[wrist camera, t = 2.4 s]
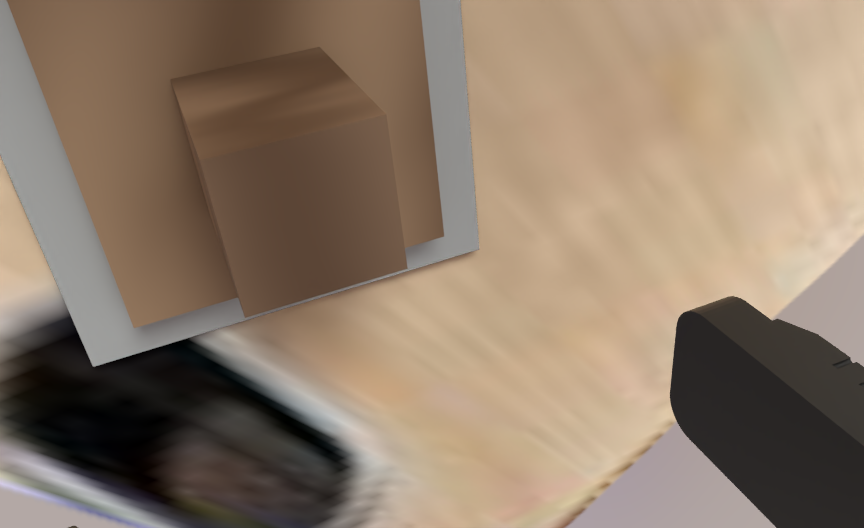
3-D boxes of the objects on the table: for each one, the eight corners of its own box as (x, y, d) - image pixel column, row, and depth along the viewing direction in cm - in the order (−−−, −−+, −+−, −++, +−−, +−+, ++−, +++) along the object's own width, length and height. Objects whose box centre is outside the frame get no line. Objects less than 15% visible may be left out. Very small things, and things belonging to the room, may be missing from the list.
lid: (395, -97, 19) (505, -58, 14) (431, 221, 24) (522, 328, 19) (2, -29, 17) (-23, 44, 12) (131, 308, 22) (150, 454, 17)
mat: (440, -175, 19) (447, -174, 19) (474, 243, 26) (479, 249, 25) (-105, -96, 16) (-109, -93, 16) (92, 358, 23) (92, 366, 22)
